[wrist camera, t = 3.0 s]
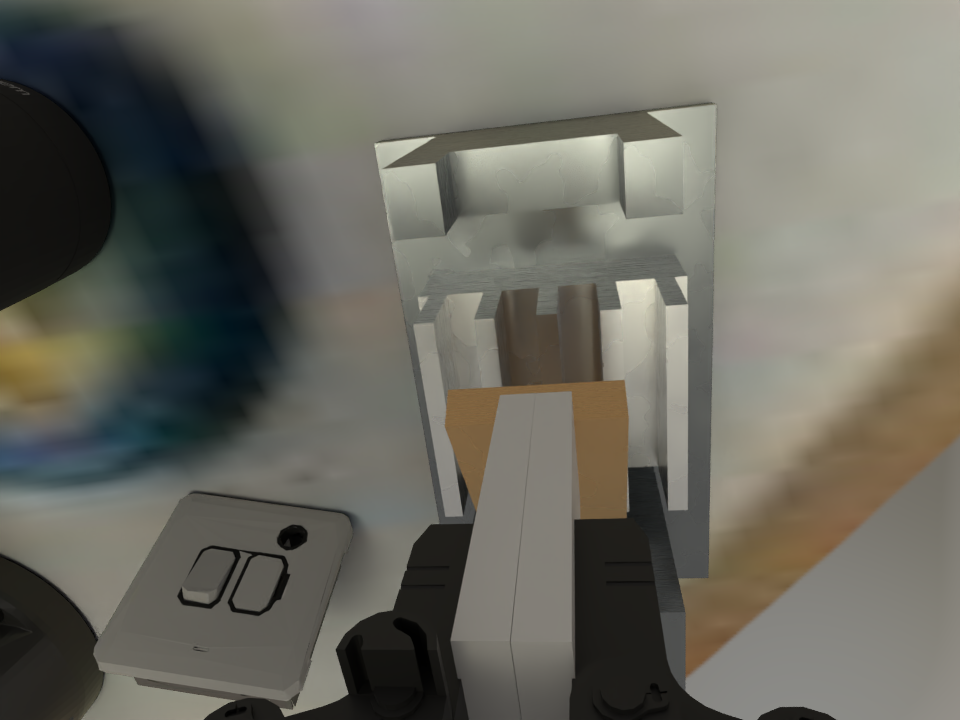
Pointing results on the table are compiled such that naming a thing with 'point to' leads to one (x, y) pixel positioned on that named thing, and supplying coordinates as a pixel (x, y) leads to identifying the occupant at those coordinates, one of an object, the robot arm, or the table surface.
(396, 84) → the table surface
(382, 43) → the table surface
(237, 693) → the electrical switch
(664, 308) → the base
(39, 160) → the pen holder
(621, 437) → the strap
